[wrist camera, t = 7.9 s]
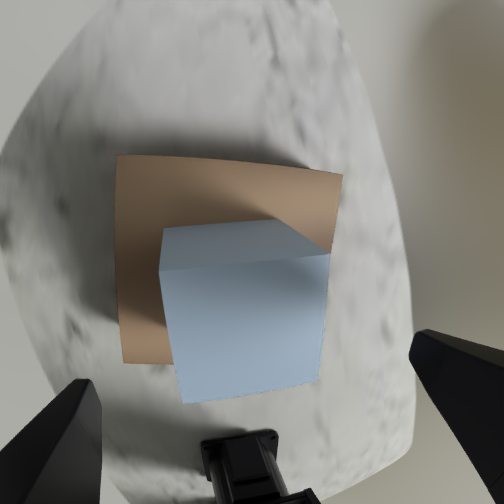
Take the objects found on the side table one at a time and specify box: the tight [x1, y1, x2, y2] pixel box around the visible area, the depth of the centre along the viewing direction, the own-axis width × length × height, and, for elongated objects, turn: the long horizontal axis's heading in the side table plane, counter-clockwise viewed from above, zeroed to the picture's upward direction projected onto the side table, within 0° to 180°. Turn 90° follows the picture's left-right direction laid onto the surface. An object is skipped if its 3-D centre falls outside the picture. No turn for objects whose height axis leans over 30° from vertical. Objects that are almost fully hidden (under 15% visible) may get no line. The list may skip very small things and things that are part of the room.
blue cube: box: [159, 219, 330, 404], centre depth 12 cm, size 5×5×5 cm
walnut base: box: [114, 155, 343, 365], centre depth 16 cm, size 10×10×4 cm
